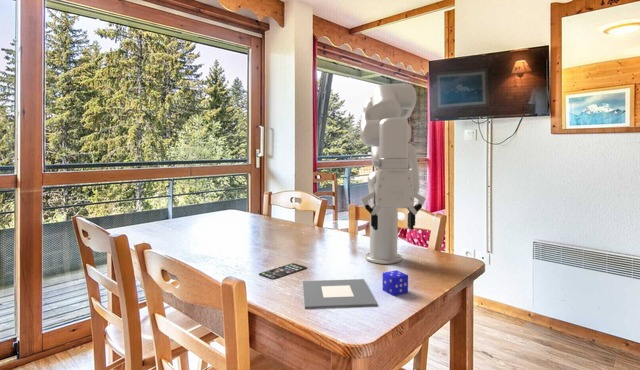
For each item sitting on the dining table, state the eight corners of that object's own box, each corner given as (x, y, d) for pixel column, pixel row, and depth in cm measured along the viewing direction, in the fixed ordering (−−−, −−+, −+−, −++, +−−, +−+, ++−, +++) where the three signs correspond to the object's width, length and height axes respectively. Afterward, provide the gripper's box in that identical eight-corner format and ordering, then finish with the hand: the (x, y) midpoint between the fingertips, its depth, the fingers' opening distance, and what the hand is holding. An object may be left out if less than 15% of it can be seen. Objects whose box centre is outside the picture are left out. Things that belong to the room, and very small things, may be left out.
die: (408, 293, 103) (408, 275, 102) (393, 296, 101) (393, 278, 100) (396, 287, 107) (396, 270, 107) (382, 290, 105) (382, 272, 105)
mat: (303, 282, 111) (303, 280, 111) (363, 280, 112) (363, 278, 112) (305, 308, 93) (304, 306, 93) (377, 305, 95) (377, 303, 94)
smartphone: (257, 273, 119) (292, 262, 130) (257, 275, 119) (293, 264, 130) (272, 279, 114) (308, 267, 124) (272, 281, 114) (308, 269, 124)
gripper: (363, 165, 96) (363, 232, 98) (430, 165, 97) (429, 231, 99) (358, 165, 104) (358, 226, 105) (420, 164, 105) (419, 225, 106)
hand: (392, 228), depth 102 cm, fingers open, 9 cm apart
